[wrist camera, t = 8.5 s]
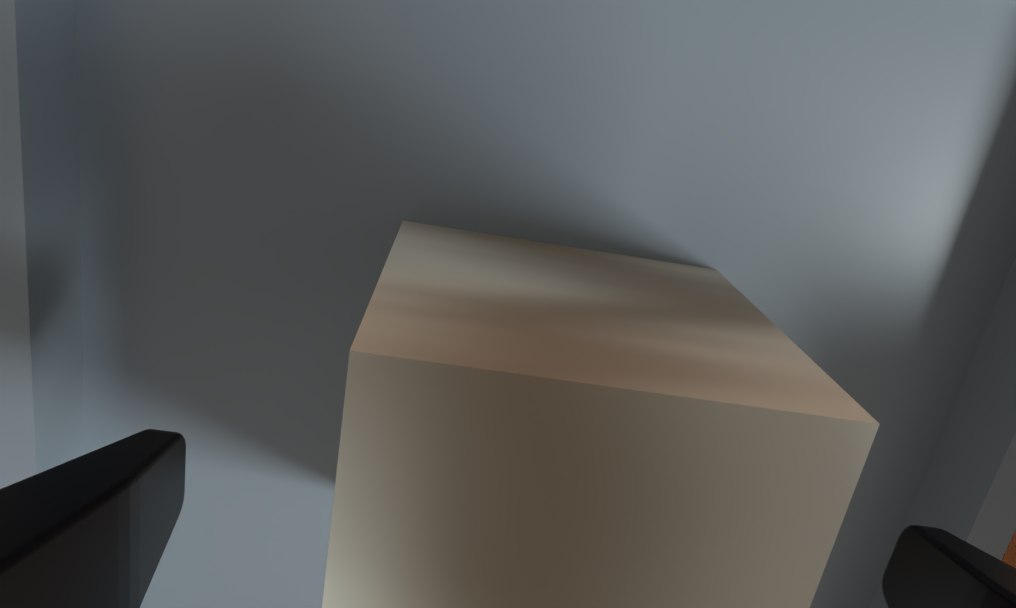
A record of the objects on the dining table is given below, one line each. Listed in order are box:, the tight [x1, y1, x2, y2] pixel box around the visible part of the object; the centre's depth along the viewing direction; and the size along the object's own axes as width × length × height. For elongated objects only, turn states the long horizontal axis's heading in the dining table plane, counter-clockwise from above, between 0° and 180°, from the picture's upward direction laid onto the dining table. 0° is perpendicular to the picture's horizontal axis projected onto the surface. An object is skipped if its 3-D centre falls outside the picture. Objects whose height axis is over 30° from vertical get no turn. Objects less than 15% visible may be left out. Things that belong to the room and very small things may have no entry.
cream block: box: [322, 221, 880, 608], centre depth 10 cm, size 5×5×5 cm
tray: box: [0, 0, 1016, 608], centre depth 12 cm, size 16×16×2 cm
